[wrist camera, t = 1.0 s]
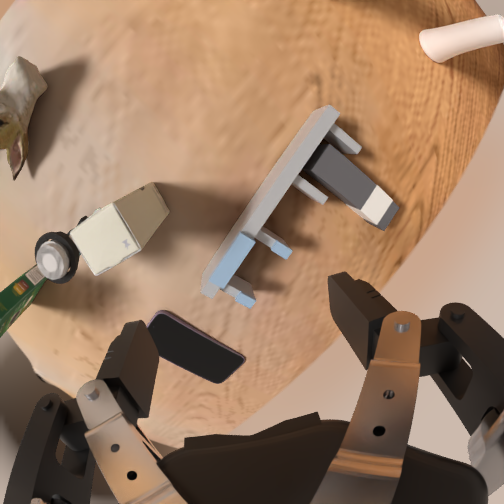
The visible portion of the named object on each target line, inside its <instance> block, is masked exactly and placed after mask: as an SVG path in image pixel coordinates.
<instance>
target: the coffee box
mask: <svg viewBox="0 0 504 504" xmlns="http://www.w3.org/2000/svg"><path fill="white" fill-rule="evenodd" d="M46 279H47V278H46V277H45V276H44V275H43V274H42V273H41V271H40V270H39V268H38V266H37V264H36V265H35V266H33V267H32V268H31V269H29V270H28V271H27V272H25V273H24V274H23V275H22V276H20V277H19V278H18V279H16V280H15V281H14V282H13V283H11V284H10V285H9V286H8V287H6V288H5V289H4V290H3V291H2V292H0V337H1V336H2V335H3V334H4V333H5V332H6V330H7V329H8V328H9V327H10V326H11V325H12V324H13V323H14V322H15V320H16V319H17V318H18V317H19V316H20V315H21V314H22V313H23V312H24V311H25V310H26V309H27V308H28V307H29V306H30V305H31V303H32V301H33V300H34V298H35V296H36V295H37V293H38V292H39V290H40V289H41V287H42V285H43V284H44V282H45V281H46Z"/></svg>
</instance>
